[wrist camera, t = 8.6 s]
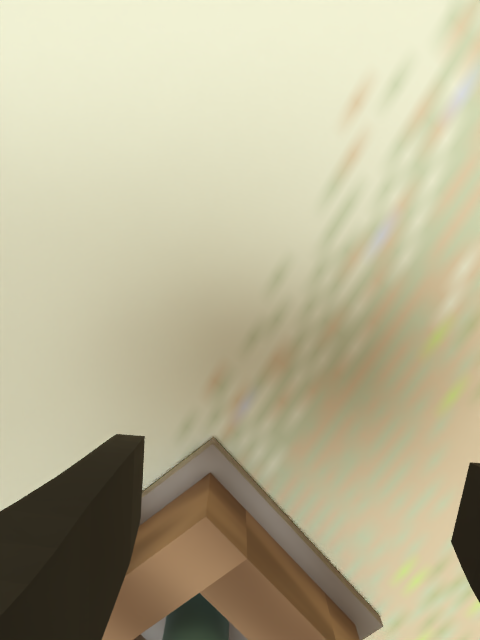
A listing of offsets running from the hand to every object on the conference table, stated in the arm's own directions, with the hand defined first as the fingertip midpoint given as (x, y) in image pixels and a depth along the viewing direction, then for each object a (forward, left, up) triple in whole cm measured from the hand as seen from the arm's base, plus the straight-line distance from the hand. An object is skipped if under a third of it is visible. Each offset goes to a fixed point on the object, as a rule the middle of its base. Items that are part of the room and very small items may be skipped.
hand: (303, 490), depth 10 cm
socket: (-11, -8, -10) cm, 17 cm away
